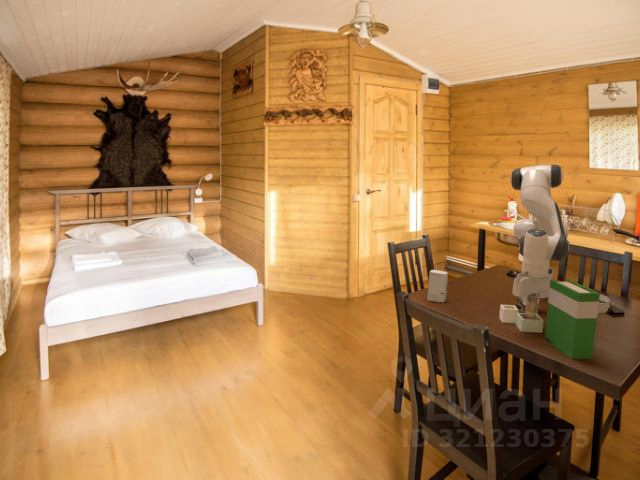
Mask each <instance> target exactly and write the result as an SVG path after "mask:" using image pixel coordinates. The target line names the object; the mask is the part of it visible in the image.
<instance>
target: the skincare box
mask: <svg viewBox="0 0 640 480" xmlns="http://www.w3.org/2000/svg"><path fill="white" fill-rule="evenodd" d="M448 276H449V271H443V270H437V269H431V270H430V271H429V275H428V286H427V298H426V300H427V301H428V302H434V301H435V303H440V302H442V303H441V304H443V303H444V302H446V299H447V290H448V289H447V288H448V278H449V277H448Z"/></svg>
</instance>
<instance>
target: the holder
mask: <svg viewBox="0 0 640 480" xmlns="http://www.w3.org/2000/svg"><path fill="white" fill-rule="evenodd" d="M544 321H545V320H544V319H543V318H542V317H541V316H539V314H535V315H534V320H532V319H525V312H518V313H516V323H515V326H516V327H517V328H518V330H519V332H522V333H541V334H543V333H544V332H543V331H544Z"/></svg>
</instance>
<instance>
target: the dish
mask: <svg viewBox="0 0 640 480" xmlns="http://www.w3.org/2000/svg"><path fill="white" fill-rule="evenodd" d="M599 300H601V301H604V302H606V303H599V305H598V313H597V314H605V313H608V312H609V311H608V308H609V307H610V308H611V305H610V303H611V299H610V298H609V297H608V296H606V295H604V294H601V293H600V296H599ZM607 311H608V312H607Z"/></svg>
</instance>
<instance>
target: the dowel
mask: <svg viewBox="0 0 640 480" xmlns="http://www.w3.org/2000/svg"><path fill="white" fill-rule="evenodd" d="M527 300H528V301H529V305H526V307H525V312H524V313H525V319H532V320H534V315H535V302H536V293H535V294H531V295H528V297H527Z"/></svg>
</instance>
